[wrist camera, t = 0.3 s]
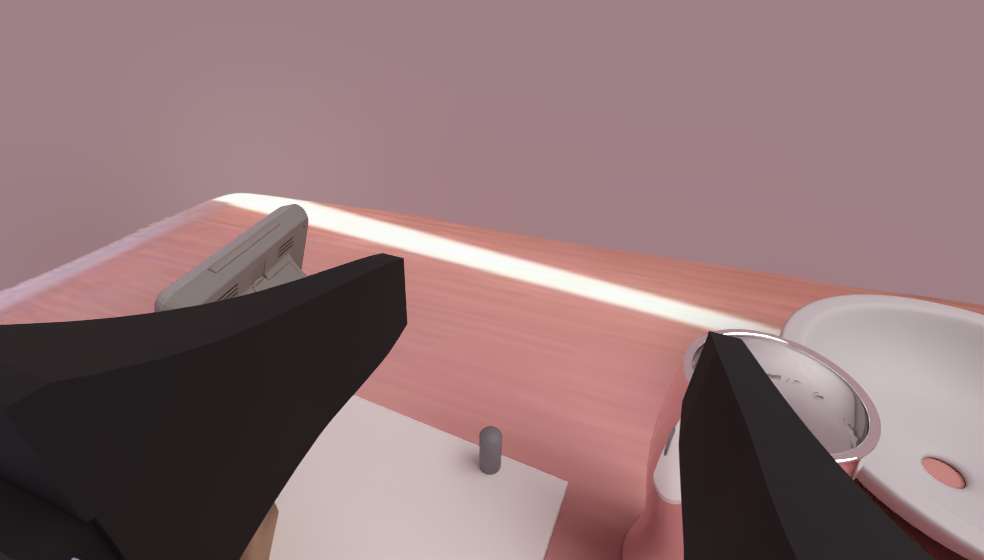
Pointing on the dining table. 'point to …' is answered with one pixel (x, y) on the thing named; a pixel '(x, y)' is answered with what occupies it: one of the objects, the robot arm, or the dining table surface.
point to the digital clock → (245, 263)
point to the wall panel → (412, 495)
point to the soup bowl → (913, 403)
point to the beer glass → (809, 391)
